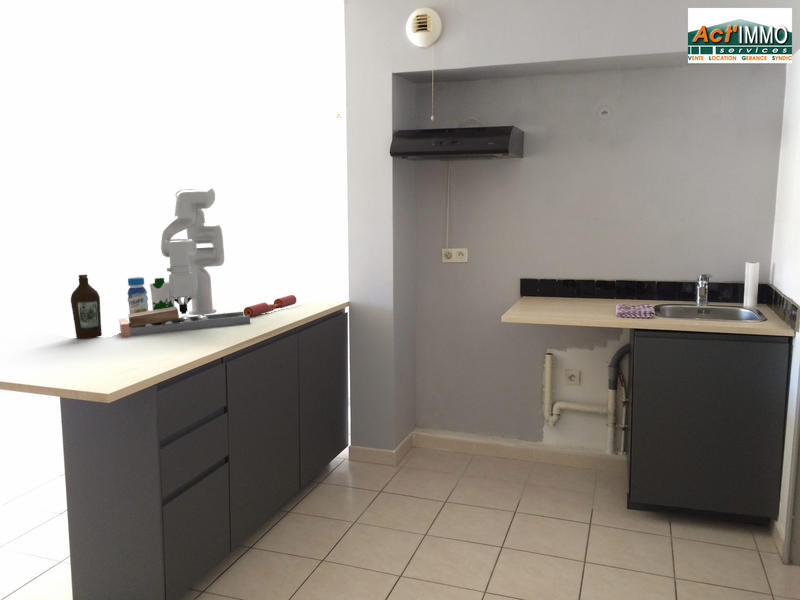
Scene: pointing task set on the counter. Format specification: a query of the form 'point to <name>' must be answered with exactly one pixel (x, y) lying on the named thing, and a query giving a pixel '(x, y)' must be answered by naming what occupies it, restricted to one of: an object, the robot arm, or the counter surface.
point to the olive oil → (86, 310)
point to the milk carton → (160, 294)
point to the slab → (153, 316)
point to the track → (184, 324)
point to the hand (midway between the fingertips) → (183, 313)
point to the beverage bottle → (137, 295)
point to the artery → (269, 306)
